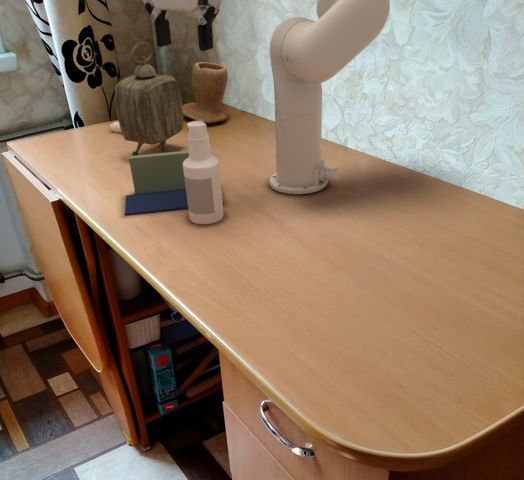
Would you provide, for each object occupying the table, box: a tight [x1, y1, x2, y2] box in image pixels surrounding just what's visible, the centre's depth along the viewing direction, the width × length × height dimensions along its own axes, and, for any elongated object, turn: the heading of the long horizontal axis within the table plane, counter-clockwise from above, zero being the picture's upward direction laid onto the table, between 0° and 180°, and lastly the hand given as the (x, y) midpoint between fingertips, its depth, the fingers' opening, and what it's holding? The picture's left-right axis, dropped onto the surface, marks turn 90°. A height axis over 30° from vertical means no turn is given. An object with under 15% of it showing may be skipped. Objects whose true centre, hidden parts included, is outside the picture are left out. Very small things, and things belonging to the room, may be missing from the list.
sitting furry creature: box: [109, 121, 122, 134], centre depth 158 cm, size 10×9×12 cm
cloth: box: [124, 189, 224, 216], centre depth 120 cm, size 10×20×1 cm, turn 100°
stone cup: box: [182, 61, 229, 124], centre depth 162 cm, size 15×12×15 cm
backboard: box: [128, 150, 189, 194], centre depth 123 cm, size 2×16×8 cm, turn 100°
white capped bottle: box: [183, 120, 225, 225], centre depth 108 cm, size 7×7×18 cm
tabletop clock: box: [114, 41, 184, 156], centre depth 137 cm, size 14×9×25 cm, turn 149°
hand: (185, 47), depth 102 cm, fingers open, 9 cm apart
